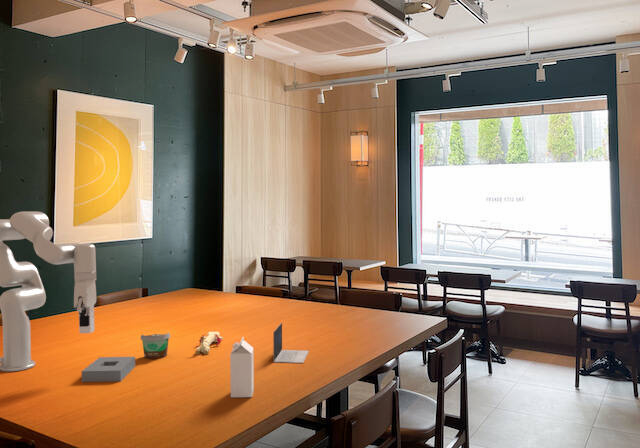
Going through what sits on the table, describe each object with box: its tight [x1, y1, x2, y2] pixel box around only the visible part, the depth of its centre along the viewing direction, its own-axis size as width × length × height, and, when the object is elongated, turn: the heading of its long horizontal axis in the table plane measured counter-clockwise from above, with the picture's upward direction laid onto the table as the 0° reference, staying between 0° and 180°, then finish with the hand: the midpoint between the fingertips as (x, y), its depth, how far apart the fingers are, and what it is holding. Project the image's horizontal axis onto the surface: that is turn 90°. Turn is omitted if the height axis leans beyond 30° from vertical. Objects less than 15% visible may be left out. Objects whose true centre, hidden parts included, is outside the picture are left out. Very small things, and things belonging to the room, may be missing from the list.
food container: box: [140, 332, 171, 360], centre depth 223 cm, size 12×6×10 cm, turn 105°
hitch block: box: [81, 356, 136, 383], centre depth 201 cm, size 14×18×4 cm
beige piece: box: [194, 331, 224, 356], centre depth 240 cm, size 10×9×25 cm
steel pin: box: [78, 304, 95, 334], centre depth 197 cm, size 4×4×11 cm
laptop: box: [272, 322, 310, 364], centre depth 224 cm, size 18×12×13 cm
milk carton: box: [229, 336, 255, 398], centre depth 179 cm, size 7×7×19 cm
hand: (86, 324), depth 197 cm, fingers closed on steel pin, 4 cm apart
